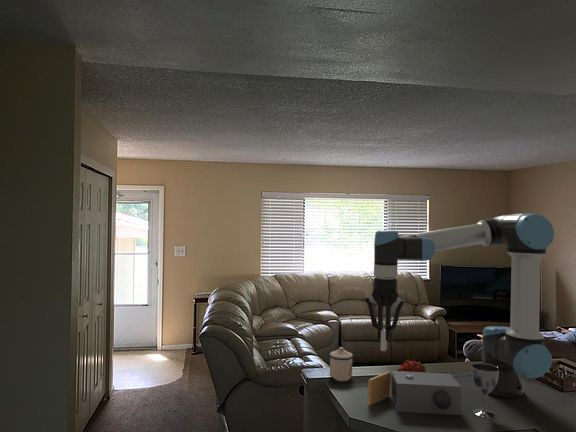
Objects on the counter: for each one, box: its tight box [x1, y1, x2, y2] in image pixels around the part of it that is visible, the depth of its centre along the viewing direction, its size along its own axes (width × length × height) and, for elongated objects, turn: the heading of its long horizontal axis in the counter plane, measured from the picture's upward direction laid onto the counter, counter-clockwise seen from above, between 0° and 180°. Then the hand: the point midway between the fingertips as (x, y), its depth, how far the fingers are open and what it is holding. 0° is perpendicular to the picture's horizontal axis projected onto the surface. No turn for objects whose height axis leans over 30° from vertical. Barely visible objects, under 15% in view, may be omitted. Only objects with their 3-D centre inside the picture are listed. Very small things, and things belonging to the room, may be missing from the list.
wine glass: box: [471, 362, 499, 420], centre depth 140 cm, size 8×8×15 cm
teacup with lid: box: [329, 346, 354, 382], centre depth 171 cm, size 12×9×12 cm
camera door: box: [367, 370, 391, 406], centre depth 148 cm, size 12×1×8 cm, turn 135°
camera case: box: [390, 370, 462, 416], centre depth 144 cm, size 20×14×10 cm
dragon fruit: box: [396, 359, 427, 373], centre depth 168 cm, size 8×8×12 cm
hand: (383, 349), depth 142 cm, fingers closed
